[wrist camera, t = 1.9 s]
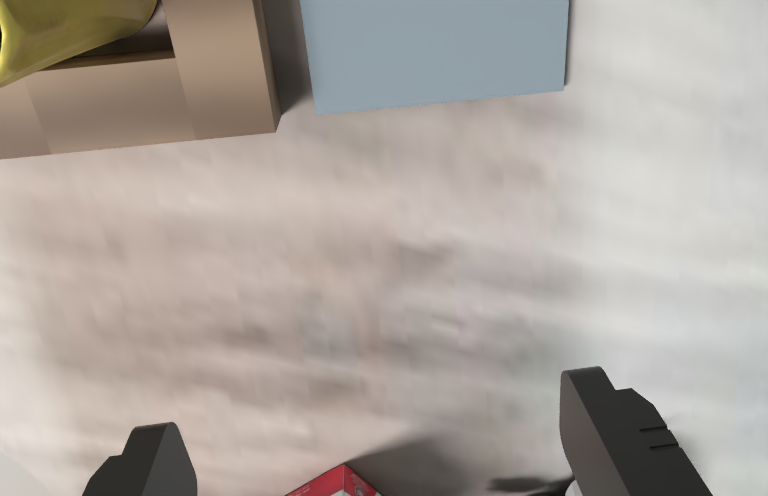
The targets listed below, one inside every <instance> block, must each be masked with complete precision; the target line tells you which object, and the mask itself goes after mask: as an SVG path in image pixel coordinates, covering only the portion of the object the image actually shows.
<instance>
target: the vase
mask: <svg viewBox="0 0 768 496" xmlns="http://www.w3.org/2000/svg"><path fill="white" fill-rule="evenodd" d="M156 3H157V0H0V88H2V87H4V86H6V85H8V84H11V83H13V82H15V81H17V80H19V79H21V78H23V77H26V76H28V75H30V74H33V73H35V72H37V71H39V70H41V69H43V68H45V67H48V66H50V65H52V64H55V63H57V62H60V61H62V60H65V59H67V58H70V57H72V56H75V55H78V54H80V53H83V52H85V51H88V50H91V49H93V48H96V47H99V46H102V45H104V44H107V43H110V42H113V41H115V40H117V39H121V38H128V37H129V36H131V35H133V34H134V33H136V32H137V31H138V30H140V29H141V28H142V27H143V26H145V25H146V23H147V22H148V21H149V19H150V17H151V15H152V13H153V11H154V9H155V6H156Z"/></svg>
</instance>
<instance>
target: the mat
mask: <svg viewBox="0 0 768 496" xmlns="http://www.w3.org/2000/svg"><path fill="white" fill-rule="evenodd" d="M300 7H301V14H302V21H303V28H304V35H305V42H306V49H307V56H308V63H309V70H310V77H311V84H312V91H313V98H314V105H315V112H316V115H322V114H332V113H342V112H352V111H363V110H373V109H383V108H393V107H403V106H414V105H424V104H434V103H444V102H454V101H465V100H475V99H485V98H495V97H505V96H516V95H526V94H536V93H546V92H556V91H564V74H565V58H566V41H567V25H568V8H569V0H300Z"/></svg>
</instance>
